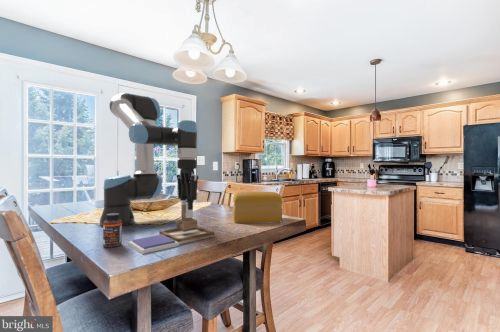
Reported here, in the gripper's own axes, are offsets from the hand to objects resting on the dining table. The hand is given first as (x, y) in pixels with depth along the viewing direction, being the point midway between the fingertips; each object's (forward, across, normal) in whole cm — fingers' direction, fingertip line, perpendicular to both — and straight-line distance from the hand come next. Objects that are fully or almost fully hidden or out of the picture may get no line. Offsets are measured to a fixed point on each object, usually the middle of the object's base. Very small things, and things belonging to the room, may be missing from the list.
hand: (186, 216), depth 106 cm
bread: (+8, -3, +42) cm, 43 cm away
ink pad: (+8, +3, -15) cm, 17 cm away
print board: (+8, 0, 0) cm, 8 cm away
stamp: (+5, 0, 0) cm, 5 cm away
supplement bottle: (+8, -7, -26) cm, 28 cm away
